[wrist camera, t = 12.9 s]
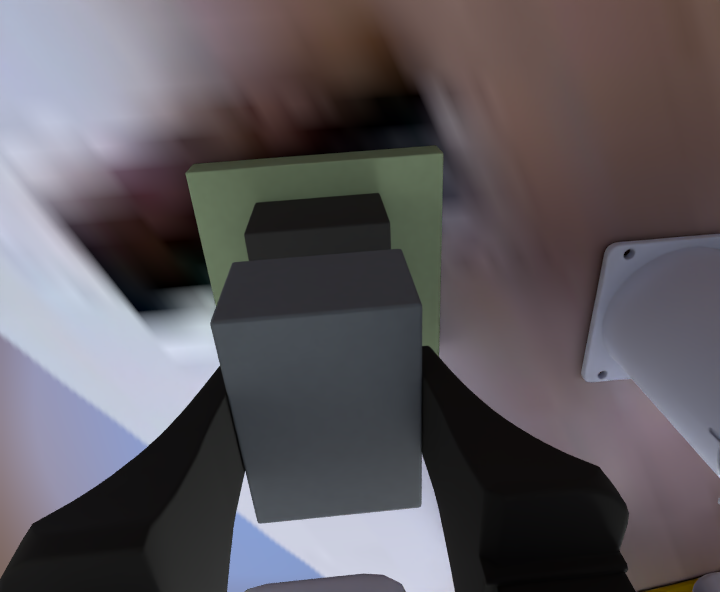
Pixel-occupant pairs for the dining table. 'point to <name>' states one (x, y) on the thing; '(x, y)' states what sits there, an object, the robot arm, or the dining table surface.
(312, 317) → the grey block
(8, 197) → the dining table surface
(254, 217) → the black rectangular block
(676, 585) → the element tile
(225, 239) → the base pad
